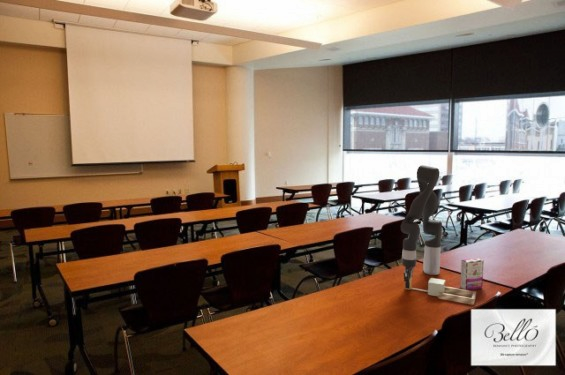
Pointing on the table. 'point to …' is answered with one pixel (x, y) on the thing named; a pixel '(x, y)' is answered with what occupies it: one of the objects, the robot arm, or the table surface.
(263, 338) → the table surface
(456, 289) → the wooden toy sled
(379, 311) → the table surface
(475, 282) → the candy bar box
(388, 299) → the table surface
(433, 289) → the tethered block
